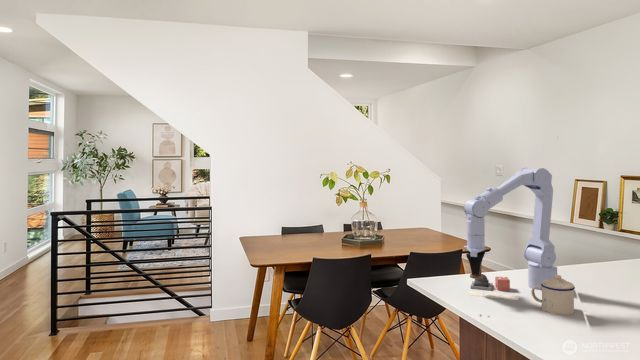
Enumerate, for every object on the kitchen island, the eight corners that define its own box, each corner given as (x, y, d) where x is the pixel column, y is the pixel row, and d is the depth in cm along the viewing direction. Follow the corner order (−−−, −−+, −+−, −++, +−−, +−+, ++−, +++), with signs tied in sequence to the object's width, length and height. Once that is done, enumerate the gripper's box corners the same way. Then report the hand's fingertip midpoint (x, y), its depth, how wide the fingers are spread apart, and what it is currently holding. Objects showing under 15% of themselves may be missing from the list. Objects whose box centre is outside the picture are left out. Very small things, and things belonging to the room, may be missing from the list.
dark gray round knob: (489, 285, 159) (489, 273, 158) (488, 289, 154) (488, 276, 154) (475, 284, 161) (475, 271, 160) (474, 287, 156) (473, 275, 156)
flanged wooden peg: (483, 276, 150) (483, 260, 150) (482, 279, 147) (482, 263, 146) (470, 275, 152) (471, 259, 152) (469, 278, 148) (469, 262, 148)
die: (507, 287, 156) (507, 276, 156) (509, 291, 152) (509, 279, 152) (495, 287, 157) (495, 275, 156) (497, 290, 153) (497, 278, 153)
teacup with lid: (577, 311, 133) (577, 274, 132) (570, 320, 126) (571, 281, 126) (535, 303, 141) (535, 268, 140) (527, 311, 134) (527, 274, 134)
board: (521, 290, 155) (521, 285, 155) (520, 306, 139) (520, 300, 139) (468, 285, 163) (468, 280, 163) (462, 299, 147) (462, 294, 147)
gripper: (466, 230, 157) (466, 267, 158) (460, 237, 144) (461, 277, 145) (486, 231, 154) (487, 268, 155) (483, 238, 141) (483, 279, 142)
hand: (476, 273), depth 149 cm, fingers closed on flanged wooden peg, 3 cm apart
